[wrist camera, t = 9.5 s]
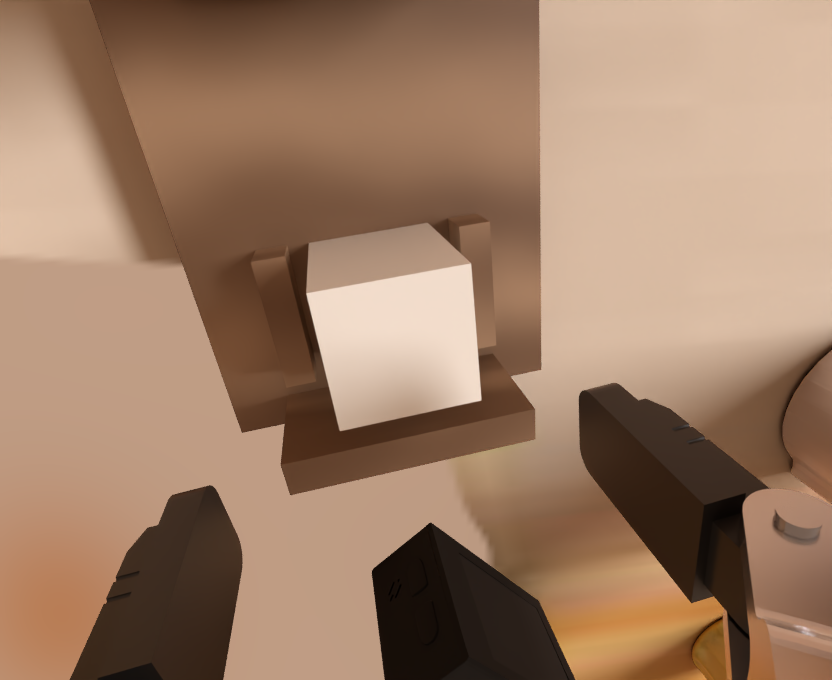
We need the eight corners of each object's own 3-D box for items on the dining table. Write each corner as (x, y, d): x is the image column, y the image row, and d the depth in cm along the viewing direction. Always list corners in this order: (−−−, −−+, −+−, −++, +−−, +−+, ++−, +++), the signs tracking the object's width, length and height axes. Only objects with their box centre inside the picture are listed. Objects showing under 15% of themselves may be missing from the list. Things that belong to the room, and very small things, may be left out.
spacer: (427, 222, 16) (471, 263, 12) (439, 329, 18) (481, 400, 13) (308, 242, 16) (306, 293, 11) (333, 350, 17) (339, 431, 13)
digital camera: (351, 582, 25) (364, 736, 19) (428, 520, 24) (468, 660, 18) (470, 650, 29) (511, 793, 23) (538, 600, 29) (600, 734, 22)
